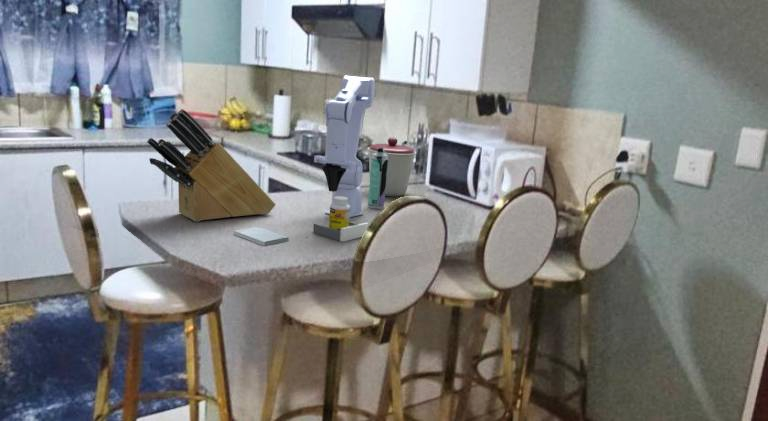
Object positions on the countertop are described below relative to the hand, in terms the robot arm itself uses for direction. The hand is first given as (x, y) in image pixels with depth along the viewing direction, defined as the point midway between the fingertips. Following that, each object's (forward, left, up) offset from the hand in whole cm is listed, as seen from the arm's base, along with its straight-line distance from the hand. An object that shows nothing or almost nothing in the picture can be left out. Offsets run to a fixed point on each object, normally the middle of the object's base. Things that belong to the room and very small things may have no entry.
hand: (332, 191), depth 179 cm
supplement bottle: (+4, +7, -11) cm, 13 cm away
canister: (-52, -19, -11) cm, 57 cm away
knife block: (+20, -28, -11) cm, 36 cm away
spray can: (-31, -8, -11) cm, 34 cm away
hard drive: (+24, -3, -11) cm, 27 cm away
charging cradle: (+4, +7, -10) cm, 13 cm away
